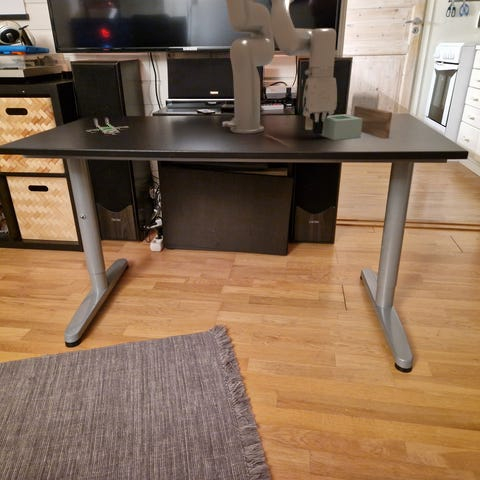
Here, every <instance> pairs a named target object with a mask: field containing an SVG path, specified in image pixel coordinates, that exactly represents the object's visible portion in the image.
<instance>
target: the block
mask: <svg viewBox="0 0 480 480" xmlns="http://www.w3.org/2000/svg"><path fill="white" fill-rule="evenodd" d="M362 120H363V119H362V118H358V117H354V116H351V114H346V113H344V114H334V115H333V114H331V115H328V116H327V118H326V119H325V121H324V122H323V131H322V134H319V136H321V137H324V138H327V139H329V140H332V141H339V140H348V139H349V140H351V139H357V138H360V139H361V135H362V132H361V129H362Z"/></svg>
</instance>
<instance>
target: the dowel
mask: <svg viewBox="0 0 480 480" xmlns="http://www.w3.org/2000/svg"><path fill="white" fill-rule="evenodd" d="M309 113H311V112H309ZM304 124H305V126H304V129H305V130H306V131H312V128H313V121H312V120H311V118H310V117H307V116H305V123H304Z"/></svg>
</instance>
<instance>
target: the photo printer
mask: <svg viewBox="0 0 480 480" xmlns="http://www.w3.org/2000/svg"><path fill="white" fill-rule="evenodd" d="M379 100H380V95H379V92H377V91H374V90H367V89H363V90H356V91H354V92H353V95H352V99H351V107H350V108H351V109H350V116H354V108H355V106H364V107H369V108H374V109H378V108H379ZM378 110H379V109H378Z"/></svg>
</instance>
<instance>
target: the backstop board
mask: <svg viewBox="0 0 480 480" xmlns="http://www.w3.org/2000/svg"><path fill="white" fill-rule="evenodd" d="M354 117H358V118H362V119H363V120H362V129H361V133H364V134H365V133H366V134H369V135H371V136H374V137H378V138H382V139H388V138H390V132H391V124H392V117H393V112H391V111H387V110H382V109H374V108H369V107H364V106H355V108H354Z"/></svg>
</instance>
